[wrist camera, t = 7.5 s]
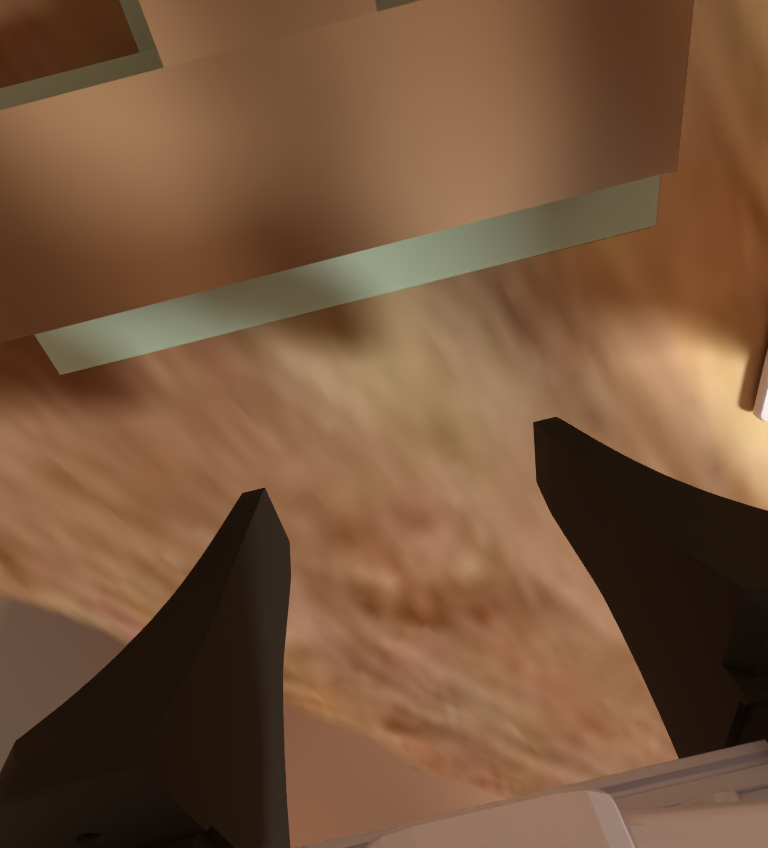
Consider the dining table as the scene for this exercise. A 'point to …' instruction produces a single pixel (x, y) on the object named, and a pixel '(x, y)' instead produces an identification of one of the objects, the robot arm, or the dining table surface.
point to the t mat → (330, 277)
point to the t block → (323, 140)
